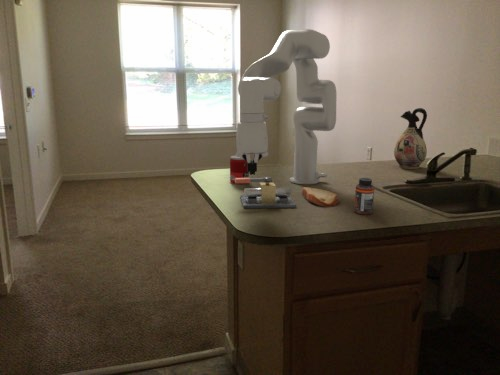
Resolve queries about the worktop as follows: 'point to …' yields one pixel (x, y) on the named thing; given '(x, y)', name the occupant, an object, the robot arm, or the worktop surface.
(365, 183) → the supplement bottle
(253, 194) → the valve assembly
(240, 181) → the lever
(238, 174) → the canned food
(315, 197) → the bread slice
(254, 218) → the worktop surface
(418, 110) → the ceramic jug
